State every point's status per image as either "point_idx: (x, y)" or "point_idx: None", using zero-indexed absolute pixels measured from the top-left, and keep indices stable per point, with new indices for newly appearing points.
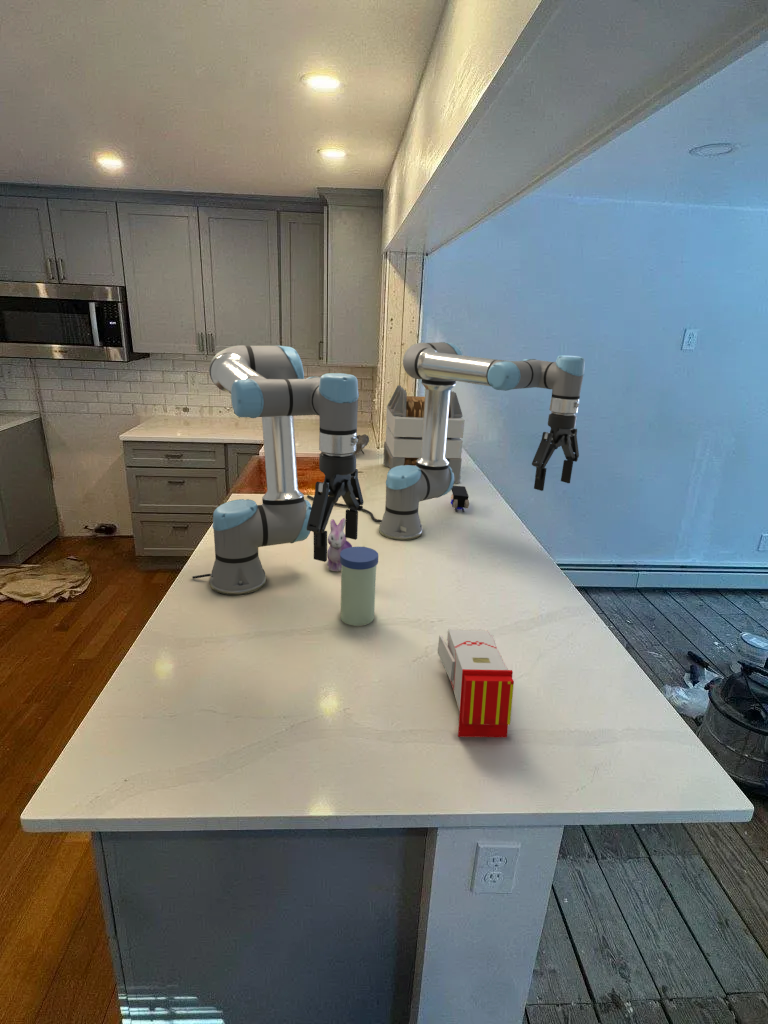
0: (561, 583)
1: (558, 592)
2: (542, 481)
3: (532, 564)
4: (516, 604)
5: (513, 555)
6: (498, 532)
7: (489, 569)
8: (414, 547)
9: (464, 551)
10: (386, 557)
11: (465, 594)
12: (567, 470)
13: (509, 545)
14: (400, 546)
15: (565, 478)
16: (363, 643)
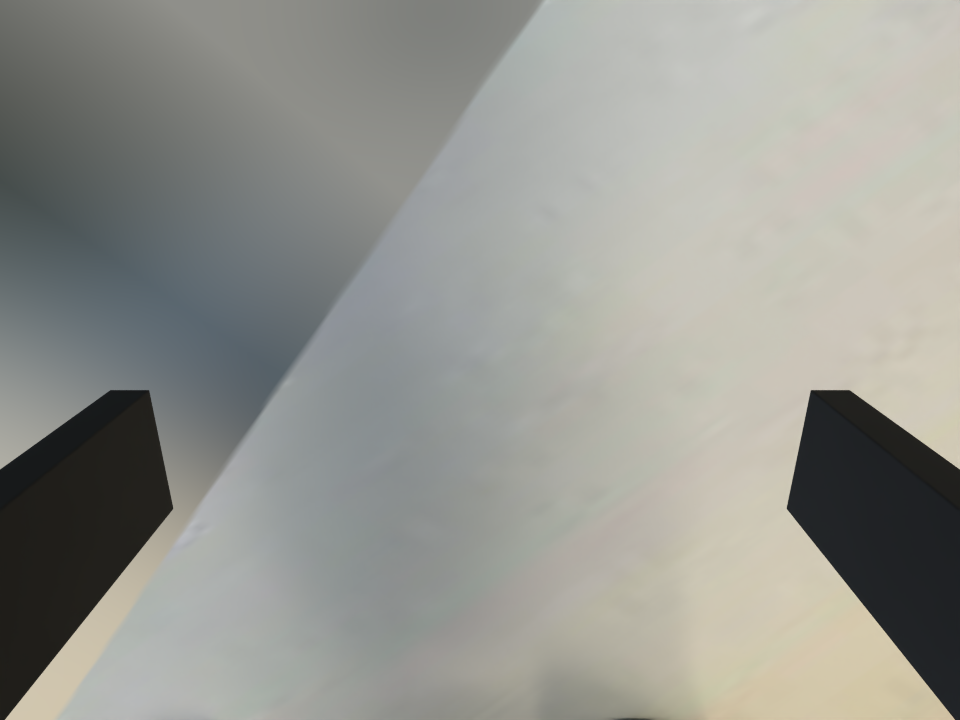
0: (494, 82)
1: (598, 28)
2: (946, 474)
3: (429, 305)
4: (869, 85)
5: (422, 415)
6: (273, 599)
7: (641, 386)
8: (702, 673)
9: (572, 554)
10: (859, 667)
11: (937, 292)
12: (33, 557)
13: (346, 491)
14: (736, 703)
15: (130, 478)
16: None
